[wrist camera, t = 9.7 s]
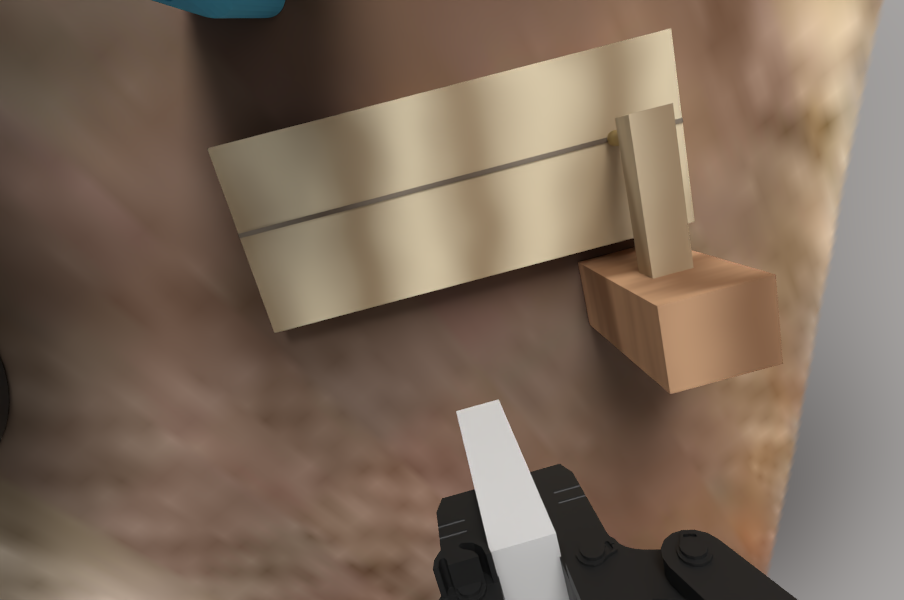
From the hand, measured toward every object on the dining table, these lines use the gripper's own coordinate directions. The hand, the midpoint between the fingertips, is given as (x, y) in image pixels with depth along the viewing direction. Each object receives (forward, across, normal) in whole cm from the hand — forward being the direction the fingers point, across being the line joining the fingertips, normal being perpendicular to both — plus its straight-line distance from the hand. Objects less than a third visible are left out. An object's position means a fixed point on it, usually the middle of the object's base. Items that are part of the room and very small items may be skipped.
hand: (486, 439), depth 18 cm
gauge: (+13, +11, +3) cm, 17 cm away
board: (+14, +3, +8) cm, 16 cm away
